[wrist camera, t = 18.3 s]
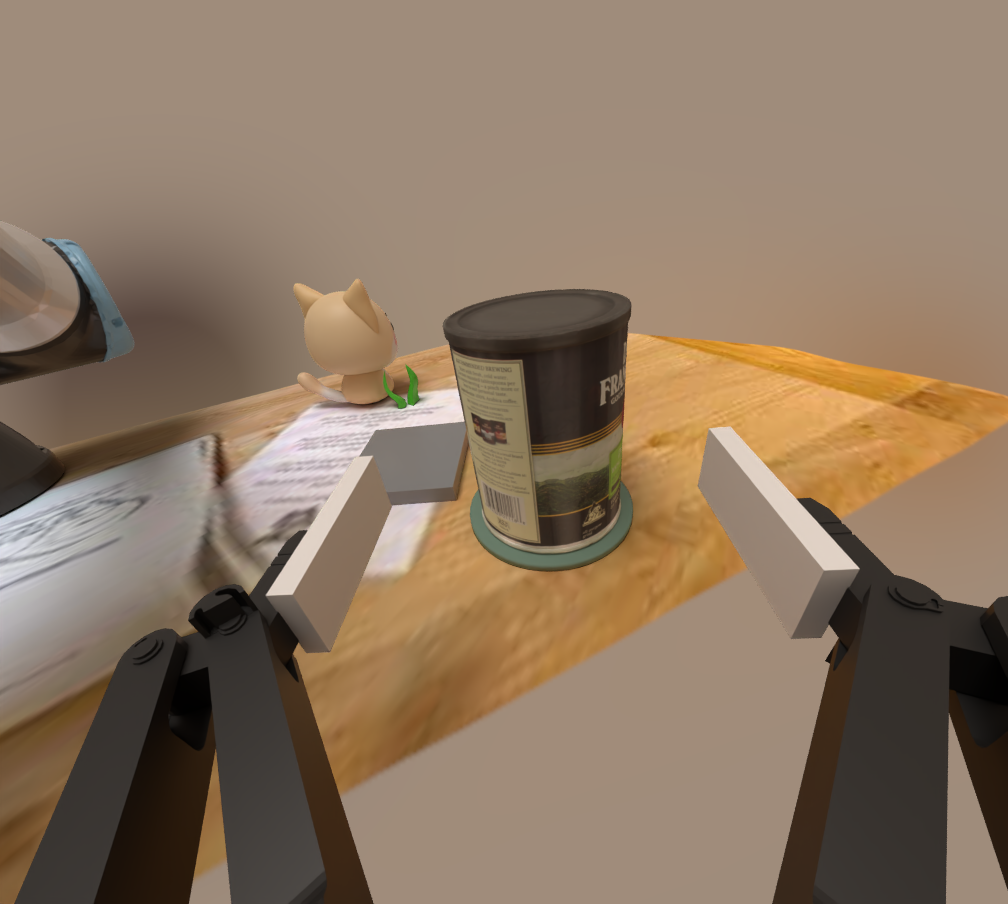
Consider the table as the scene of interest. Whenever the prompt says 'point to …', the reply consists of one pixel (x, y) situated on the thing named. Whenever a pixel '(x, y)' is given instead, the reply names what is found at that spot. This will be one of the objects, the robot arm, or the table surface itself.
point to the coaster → (553, 560)
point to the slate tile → (420, 461)
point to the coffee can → (544, 412)
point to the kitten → (350, 345)
